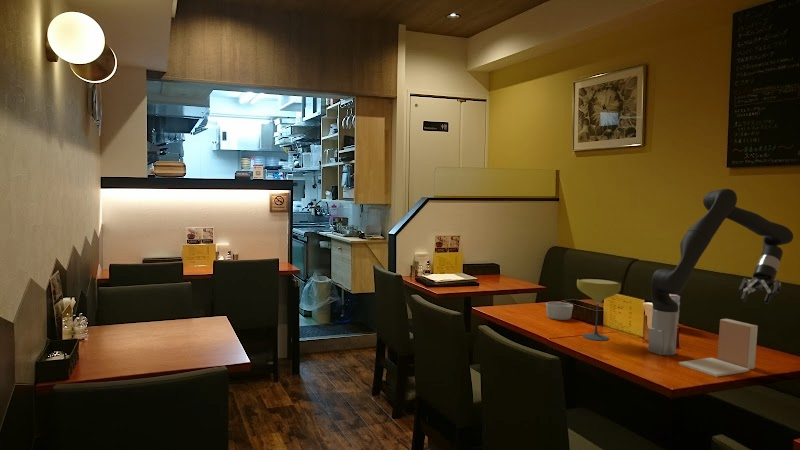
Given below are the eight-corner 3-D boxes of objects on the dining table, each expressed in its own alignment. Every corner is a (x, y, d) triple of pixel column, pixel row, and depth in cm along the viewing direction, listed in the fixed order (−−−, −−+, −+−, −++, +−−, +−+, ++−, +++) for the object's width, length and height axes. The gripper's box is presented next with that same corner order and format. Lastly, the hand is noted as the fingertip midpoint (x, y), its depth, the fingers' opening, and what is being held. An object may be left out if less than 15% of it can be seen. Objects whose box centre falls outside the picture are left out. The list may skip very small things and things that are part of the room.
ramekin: (551, 313, 296) (551, 300, 295) (576, 317, 288) (577, 304, 288) (541, 317, 285) (541, 304, 285) (567, 322, 277) (567, 308, 277)
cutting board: (716, 376, 200) (716, 374, 200) (679, 364, 214) (679, 362, 214) (749, 371, 208) (749, 369, 208) (711, 359, 222) (711, 357, 221)
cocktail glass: (594, 344, 237) (597, 284, 236) (565, 333, 254) (568, 277, 252) (627, 341, 245) (630, 283, 243) (596, 330, 261) (599, 276, 260)
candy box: (678, 331, 266) (681, 296, 265) (665, 330, 267) (667, 295, 266) (670, 324, 280) (673, 291, 279) (658, 323, 281) (660, 290, 280)
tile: (747, 369, 210) (750, 326, 209) (716, 360, 221) (719, 319, 220) (754, 368, 212) (757, 325, 211) (723, 359, 223) (726, 318, 222)
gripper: (744, 263, 240) (732, 295, 234) (781, 264, 228) (769, 298, 222) (752, 273, 243) (740, 305, 237) (789, 275, 231) (777, 308, 225)
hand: (754, 301), depth 230 cm, fingers open, 8 cm apart
